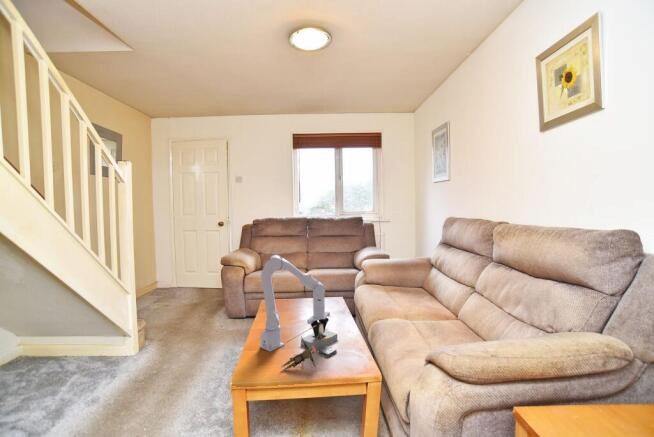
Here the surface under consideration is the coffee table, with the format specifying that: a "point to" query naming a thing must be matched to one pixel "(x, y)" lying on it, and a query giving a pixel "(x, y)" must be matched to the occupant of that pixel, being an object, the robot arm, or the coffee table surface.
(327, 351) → the gray square base plate
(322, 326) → the metal peg
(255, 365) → the coffee table surface
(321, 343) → the hole board
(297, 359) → the samurai figurine
